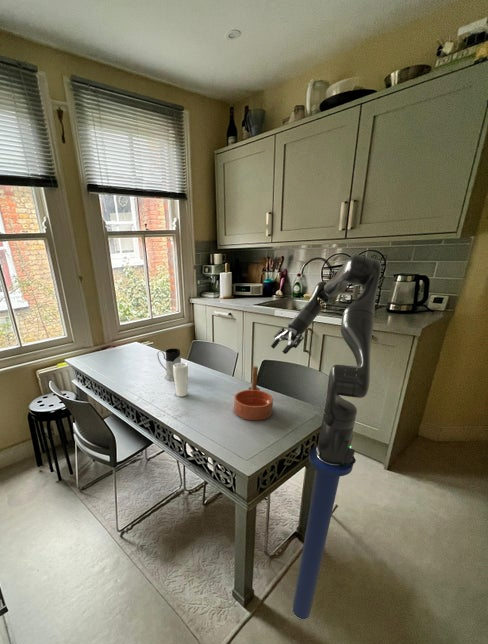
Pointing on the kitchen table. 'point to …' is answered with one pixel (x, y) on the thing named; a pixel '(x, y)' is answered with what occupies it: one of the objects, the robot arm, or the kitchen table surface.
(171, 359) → the pitcher
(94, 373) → the kitchen table surface
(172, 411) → the kitchen table surface
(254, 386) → the wooden knob stand
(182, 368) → the drinking glass
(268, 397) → the bowl
